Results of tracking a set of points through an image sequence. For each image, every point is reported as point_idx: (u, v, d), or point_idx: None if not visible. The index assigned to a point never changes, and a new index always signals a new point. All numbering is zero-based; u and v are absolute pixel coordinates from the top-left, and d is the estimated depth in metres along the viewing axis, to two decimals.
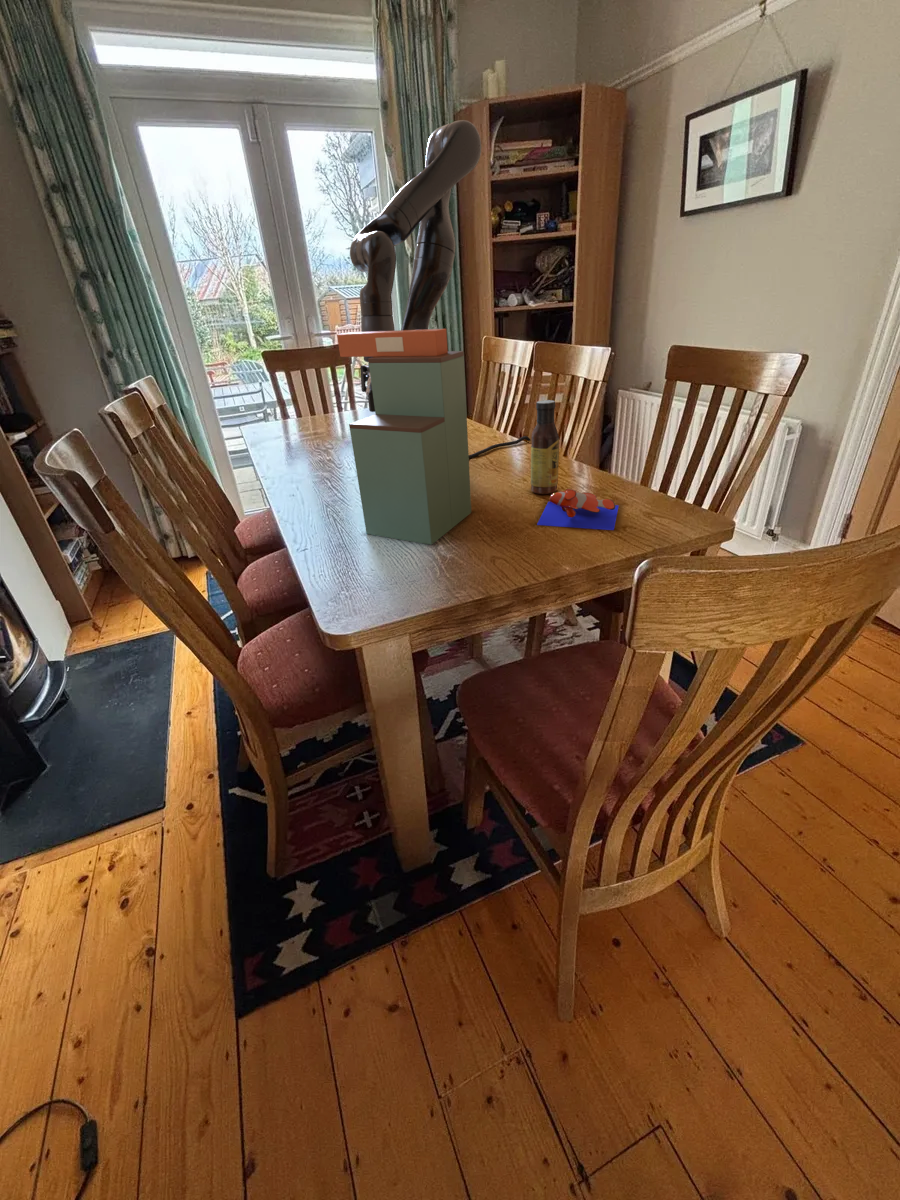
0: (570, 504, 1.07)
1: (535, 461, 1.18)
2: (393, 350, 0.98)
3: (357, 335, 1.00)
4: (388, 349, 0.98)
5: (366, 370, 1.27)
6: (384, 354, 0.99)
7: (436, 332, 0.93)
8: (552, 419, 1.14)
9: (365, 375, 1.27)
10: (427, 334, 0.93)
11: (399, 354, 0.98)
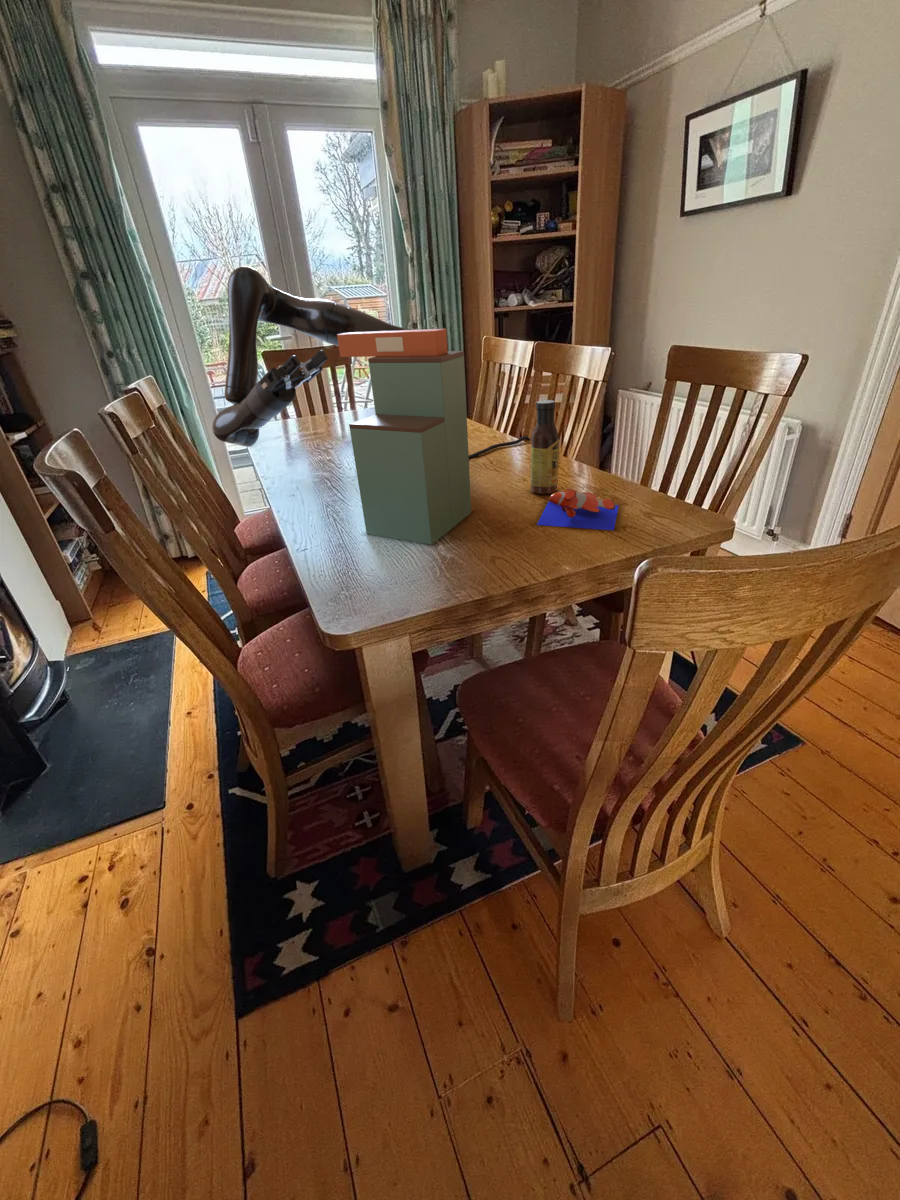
0: (570, 504, 1.07)
1: (535, 461, 1.18)
2: (393, 350, 0.98)
3: (357, 335, 1.00)
4: (388, 349, 0.98)
5: None
6: (384, 354, 0.99)
7: (436, 332, 0.93)
8: (552, 419, 1.14)
9: None
10: (427, 334, 0.93)
11: (399, 354, 0.98)
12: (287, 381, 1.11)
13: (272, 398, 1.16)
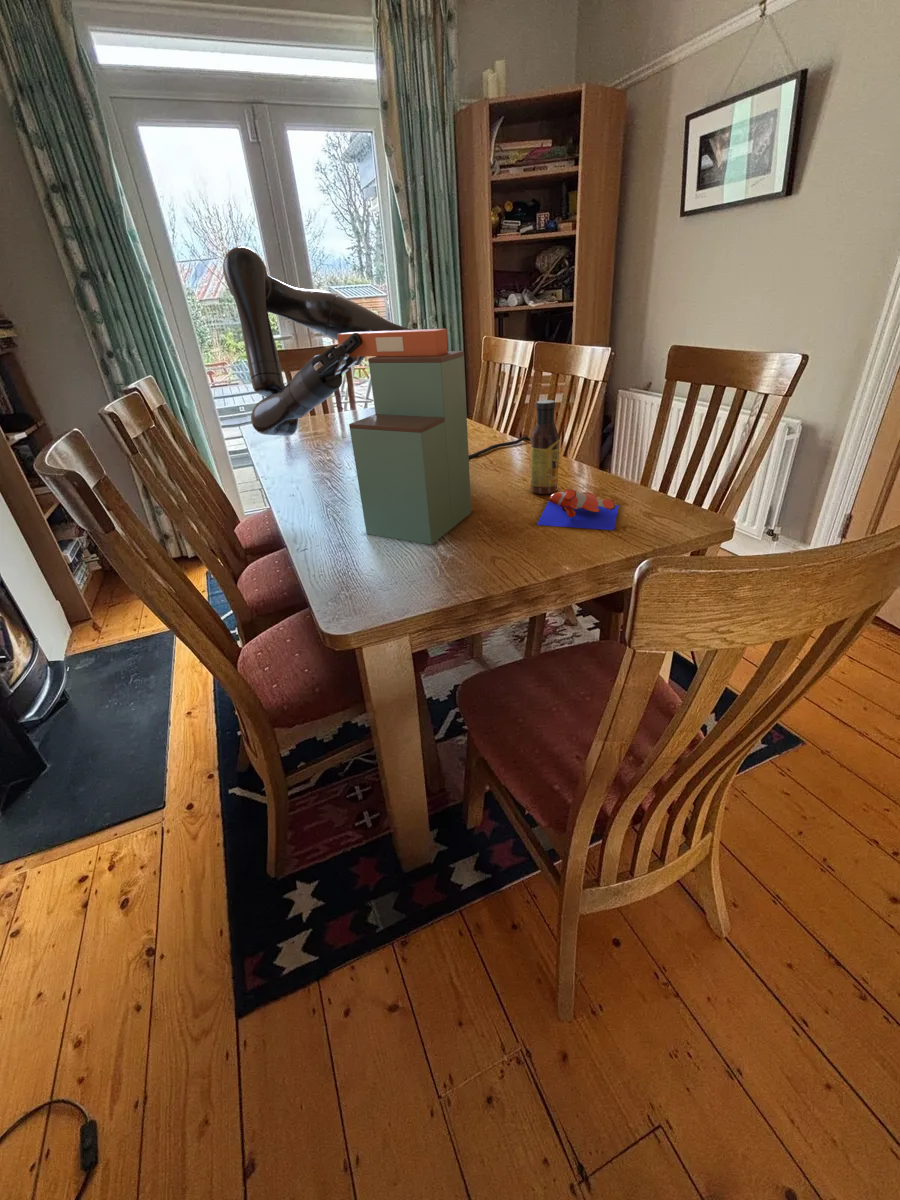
0: (570, 504, 1.07)
1: (535, 461, 1.18)
2: (393, 350, 0.98)
3: None
4: (388, 349, 0.98)
5: None
6: (384, 354, 0.99)
7: (436, 332, 0.93)
8: (552, 419, 1.14)
9: None
10: (427, 334, 0.93)
11: (399, 354, 0.98)
12: (343, 362, 1.04)
13: (318, 385, 1.08)
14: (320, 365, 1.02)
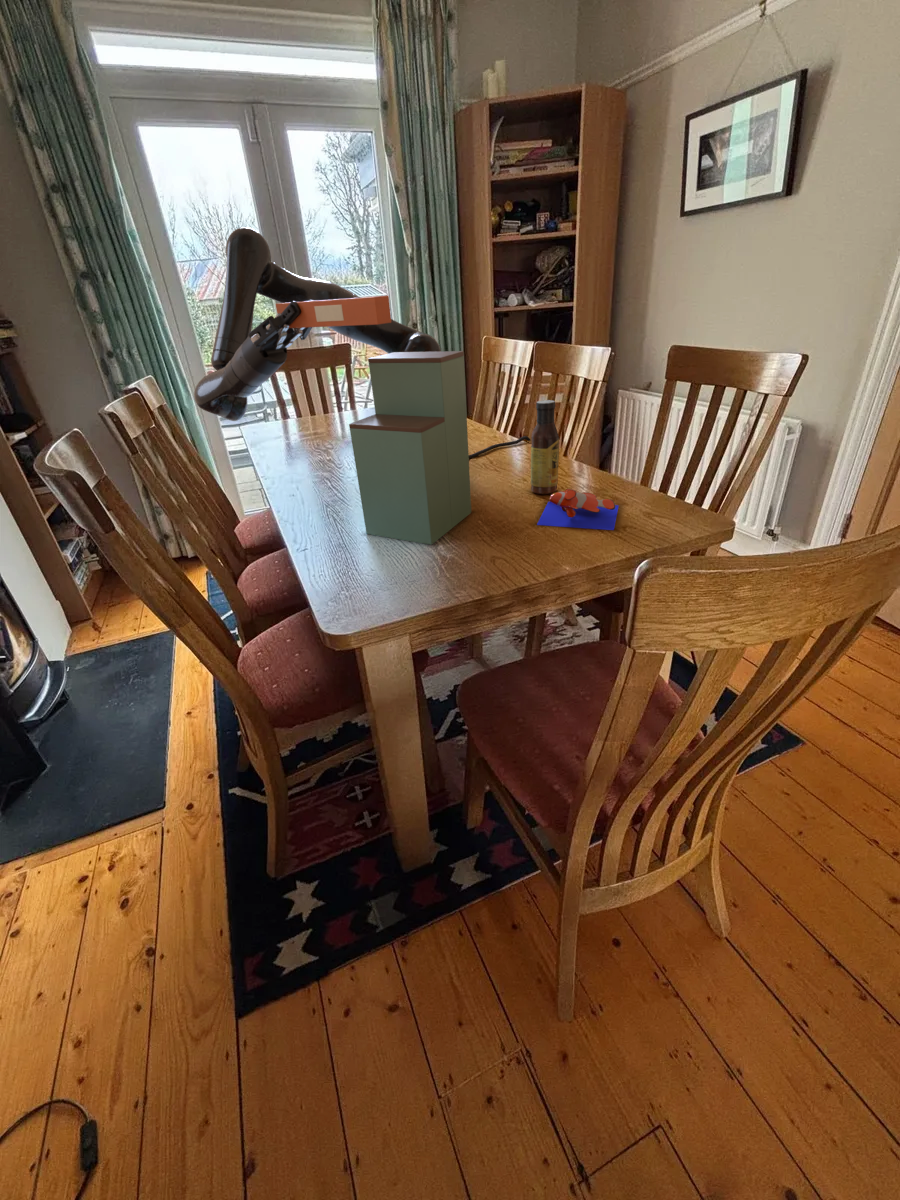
0: (570, 504, 1.07)
1: (535, 461, 1.18)
2: (333, 319, 0.91)
3: None
4: (328, 318, 0.91)
5: None
6: (324, 324, 0.92)
7: (376, 298, 0.86)
8: (552, 419, 1.14)
9: (302, 332, 1.03)
10: (366, 301, 0.86)
11: (339, 324, 0.91)
12: (283, 334, 0.97)
13: (259, 359, 1.01)
14: (257, 337, 0.95)
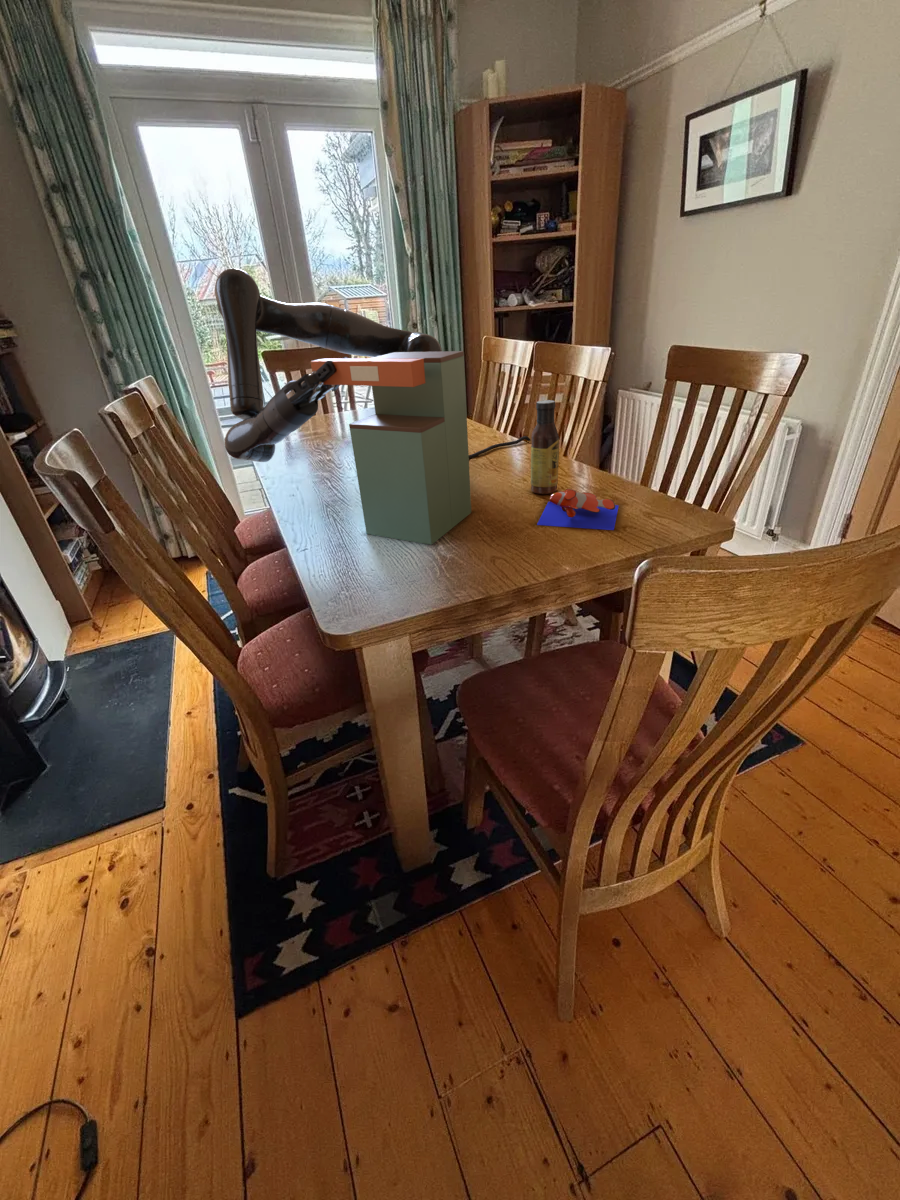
0: (570, 504, 1.07)
1: (535, 461, 1.18)
2: (368, 379, 0.93)
3: None
4: (363, 378, 0.94)
5: None
6: (359, 383, 0.95)
7: (412, 363, 0.88)
8: (552, 419, 1.14)
9: None
10: (403, 365, 0.89)
11: (374, 384, 0.93)
12: (317, 390, 0.99)
13: (292, 412, 1.03)
14: (293, 393, 0.97)
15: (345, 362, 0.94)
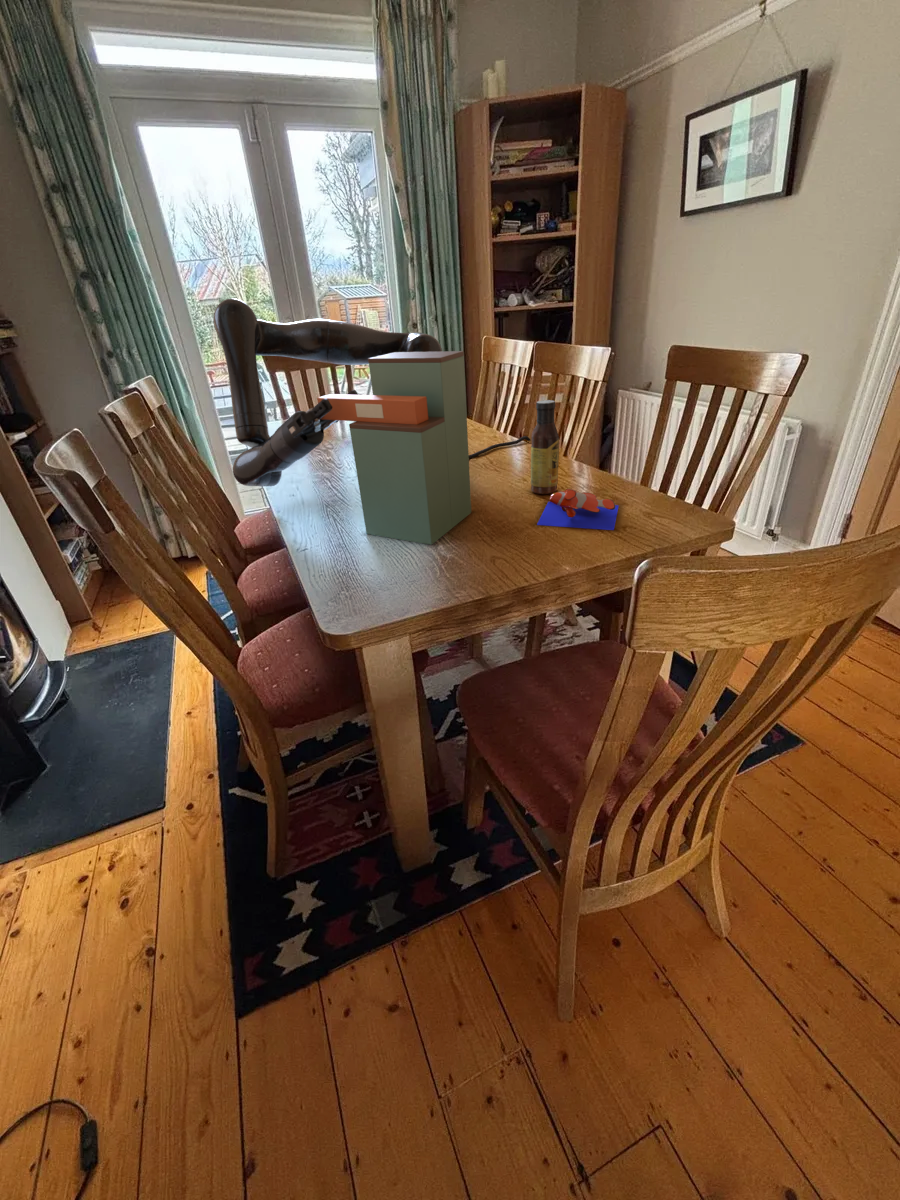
0: (570, 504, 1.07)
1: (535, 461, 1.18)
2: (373, 416, 0.96)
3: (337, 400, 0.99)
4: (368, 415, 0.97)
5: None
6: (364, 419, 0.98)
7: (415, 402, 0.91)
8: (552, 419, 1.14)
9: None
10: (406, 403, 0.92)
11: (379, 420, 0.96)
12: (317, 425, 1.02)
13: (299, 442, 1.06)
14: (293, 430, 1.01)
15: (350, 400, 0.97)
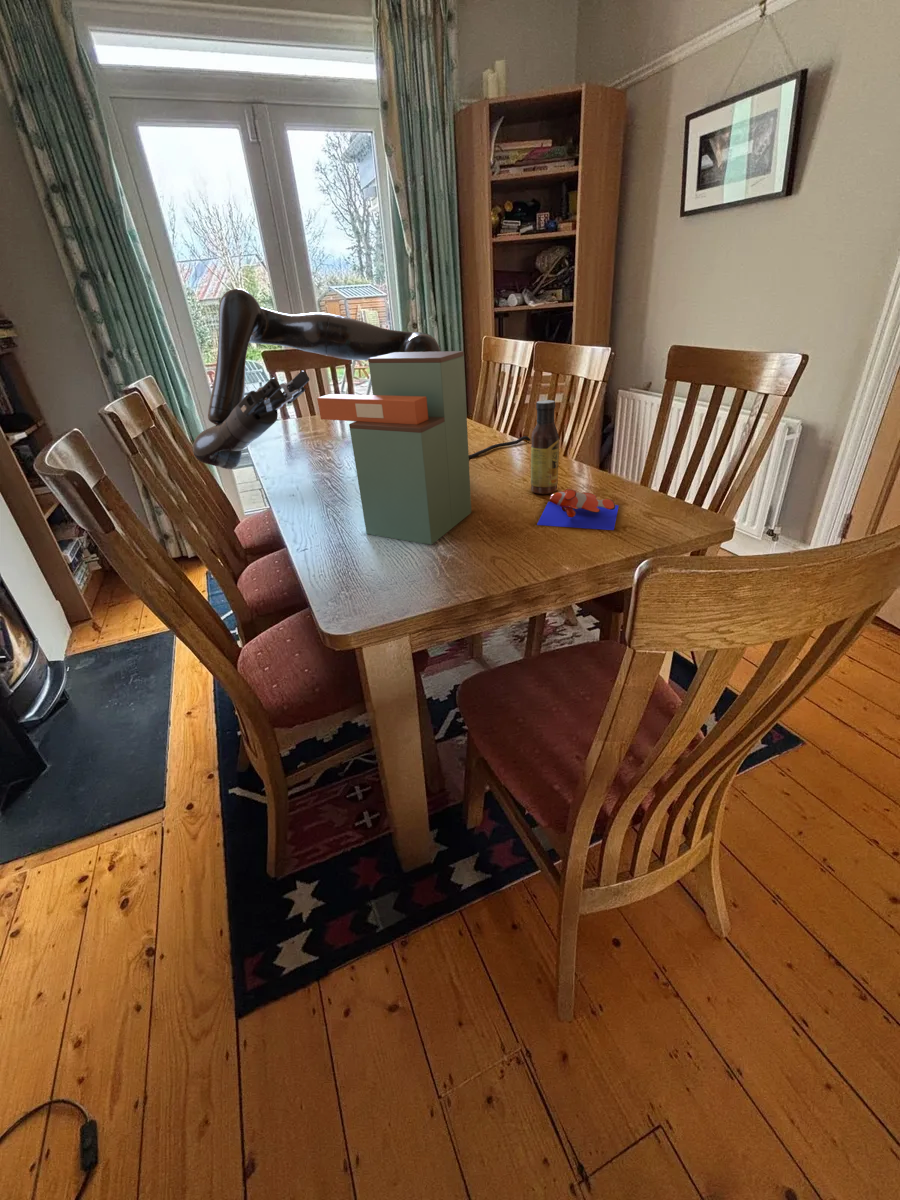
0: (570, 504, 1.07)
1: (535, 461, 1.18)
2: (373, 416, 0.96)
3: (337, 400, 0.99)
4: (368, 415, 0.97)
5: None
6: (364, 419, 0.98)
7: (415, 402, 0.91)
8: (552, 419, 1.14)
9: None
10: (406, 403, 0.92)
11: (379, 420, 0.96)
12: (267, 404, 1.07)
13: (252, 421, 1.11)
14: (245, 408, 1.06)
15: (350, 400, 0.97)
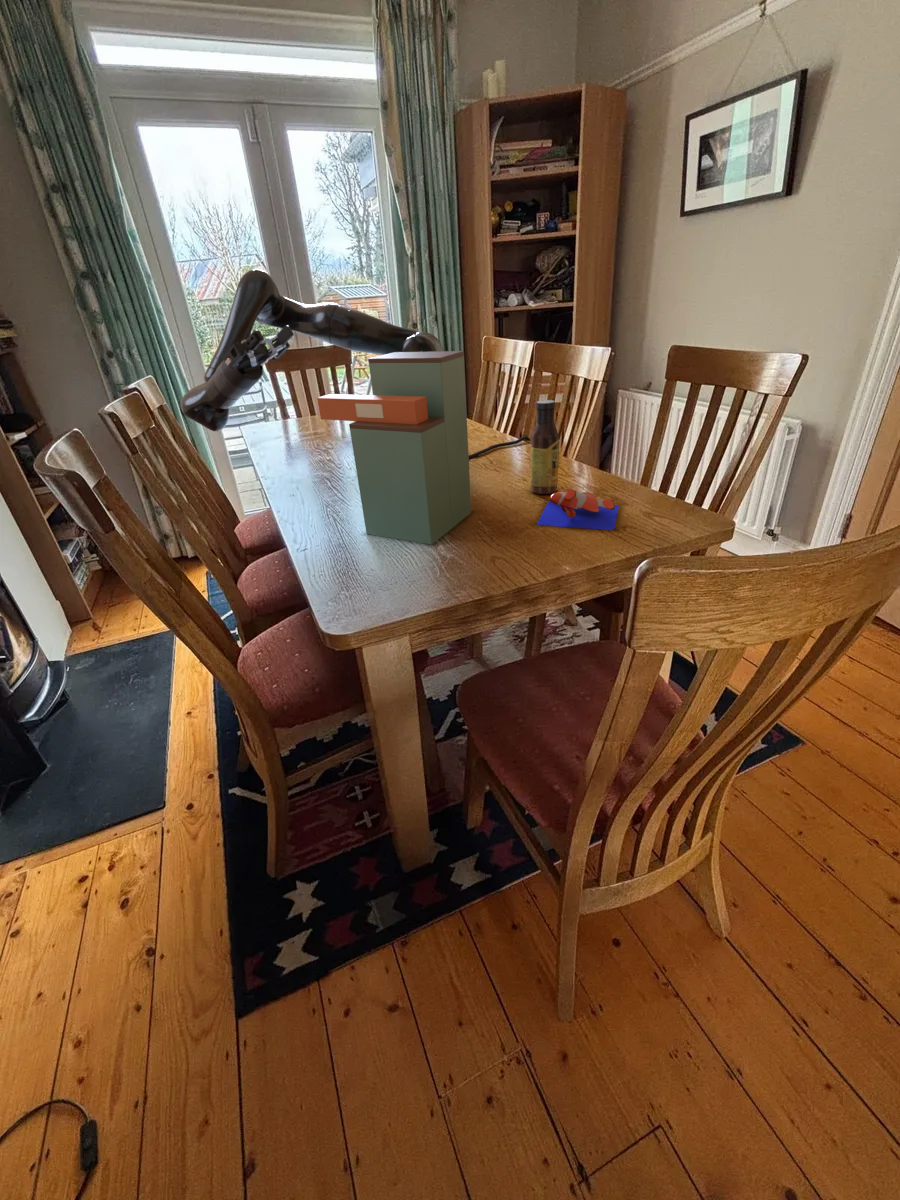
0: (570, 504, 1.07)
1: (535, 461, 1.18)
2: (373, 416, 0.96)
3: (337, 400, 0.99)
4: (368, 415, 0.97)
5: None
6: (364, 419, 0.98)
7: (415, 402, 0.91)
8: (552, 419, 1.14)
9: None
10: (406, 403, 0.92)
11: (379, 420, 0.96)
12: (251, 357, 1.09)
13: (237, 376, 1.13)
14: (229, 361, 1.08)
15: (350, 400, 0.97)
